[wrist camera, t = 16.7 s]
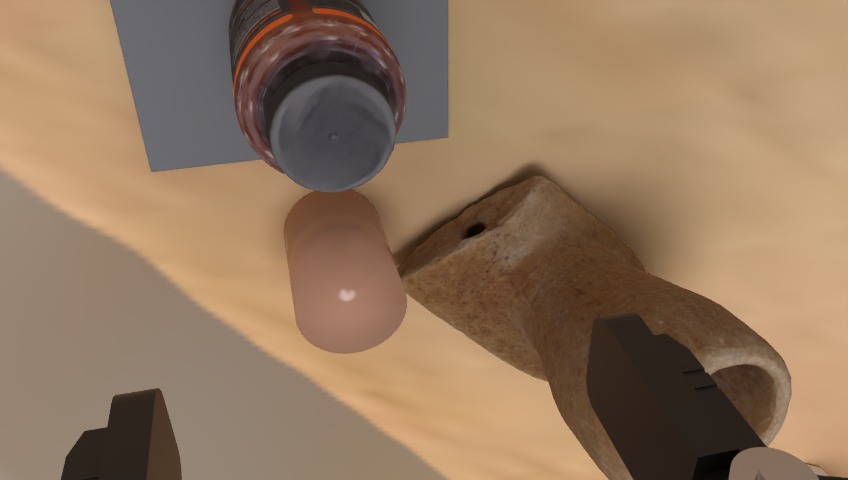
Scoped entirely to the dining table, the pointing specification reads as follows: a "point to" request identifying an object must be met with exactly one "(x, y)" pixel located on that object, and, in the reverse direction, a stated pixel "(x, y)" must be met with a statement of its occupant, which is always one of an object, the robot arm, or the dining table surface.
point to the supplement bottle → (316, 89)
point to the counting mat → (212, 80)
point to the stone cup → (578, 306)
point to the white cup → (817, 470)
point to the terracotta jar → (342, 272)
